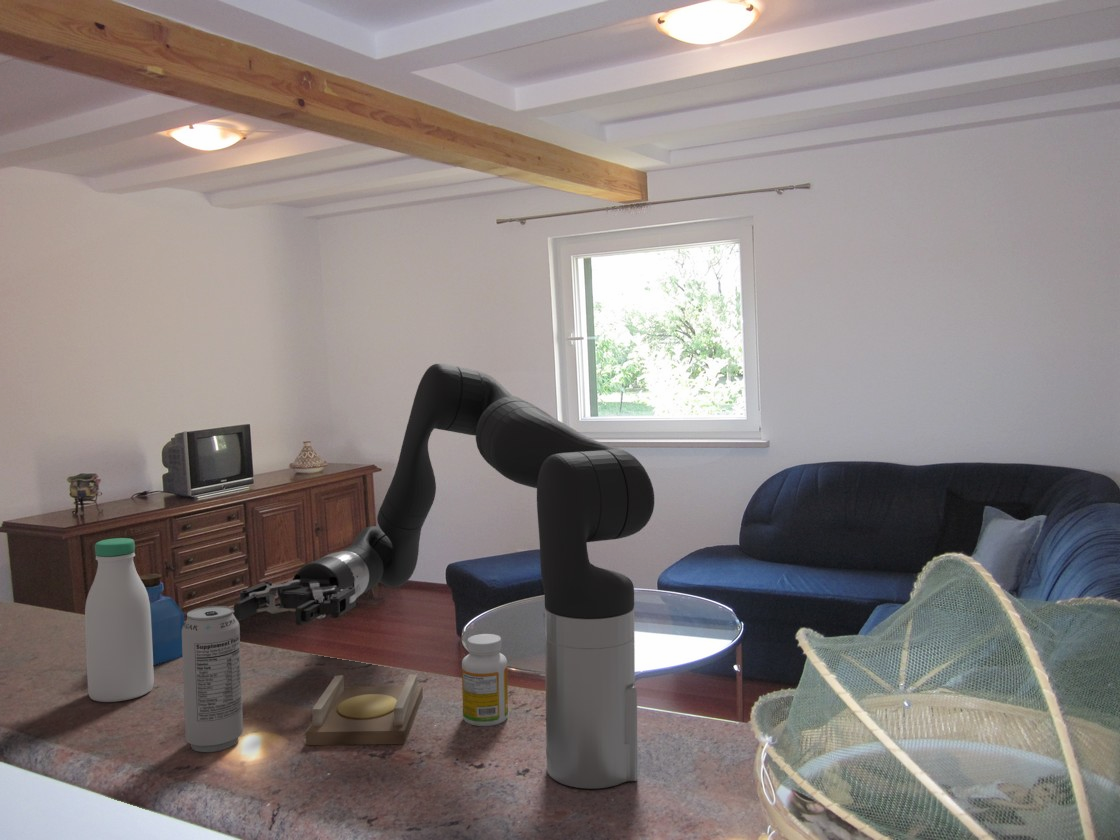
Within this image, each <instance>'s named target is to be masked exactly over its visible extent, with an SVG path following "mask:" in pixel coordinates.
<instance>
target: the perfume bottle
mask: <svg viewBox="0 0 1120 840" xmlns="http://www.w3.org/2000/svg"><path fill="white" fill-rule="evenodd" d="M162 576H163V575H162V573H161V574H160V573H149V574H148V573H147V574H143V575H139V577H140V579H141V581H142V583H143V584H144V586H145V588H146V591H147V593H148V597H149V602H150V612H151V628H152V648H153V665H154V666H157V665H159V663H160V664H162V662H163V663H166V662H169V661H172V660H176V659H178V658H181V657H182V658H183V653H182V628H183V626H184V624H185V613H184V612H183V611H182V609H181V608H180V606H179V605H178V604H177V602H176V601H175V600H174V598H173V597H170V596H165V595H162V592H163V591H164V583H163V582H162ZM156 664H157V665H156Z"/></svg>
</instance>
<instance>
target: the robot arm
mask: <svg viewBox="0 0 1120 840" xmlns="http://www.w3.org/2000/svg"><path fill="white" fill-rule="evenodd" d="M434 430H441V431H447V432H452V433H458V434H464V435H468V436H474V437H475V443H476V447H477V450H478V452H479V455H481V457H482V458H483V460H485V462H486V463H487V464H488V465H489V466H490V467H492V468H493V469H495V471H497V472H498V473H499V474H500V475H502V476H503V477H505V478H506V479H508V480H509V481H510V480H511V481H512V482H514V483H516V484H518V485H521V486H526V487H529V488H532V489H533V488H534V489H536V509H537V510H536V511H537V522H538V523H537V524H538V527H537V528H538V536H539V537H538V538H539V539H538V540H539V556H540V557H539V559H540V560H539V561H540V563H539V564H540V576H541V581H542V582H541V583H542V586H543V593H544V631H545V632H544V636H545V637H544V643H545V645H544V647H545V648H544V652H545V653H544V654H545V655H544V656H545V665H544V666H545V667H544V668H545V735H546V737H545V739H546V743H545V745H546V746H545V755H546V772H547V774H548V775H549V776H550V777H551V779H553V780H554V781H556V782H557V783H559V784H562V785H565V786H568V787H571V788H572V787H574V788H576V789H577V788H578V789H590V790H591V789H605V788H610V787H614V786H618V785H620V784H623V783H626V782H637V781H638V777H639V776H638V689H637V684H636V679H635V677H636V676H635V673H636V672H635V669H636V668H635V665H636V664H635V662H636V661H635V659H636V658H635V657H636V656H635V585H634V583H633V581H632V579H630V578H629V577H628V576H626V575H625V574H623V573H620V572H618V571H614V570H610V569H606V568H602V567H599V566H595V565H594V564H592V563H591V562H590V559H589V553H588V545H587V544H588V543H593V542H602V541H610V540H618V539H623V538H626V537H630V536H632V535H635V534H637V533H639V532H640V531H641V530H643V529H644V528H645V527H646V525H647V524H648V523H649V522H650V520H651V518H652V515H653V512H654V509H655V492H654V487H653V483H652V480H651V478H650V476H649V474H648V472H647V470H646V469H645V467H644V466H643V464H642V463H641V462H640V461H639V459H637V458H636V457H635V456H634V455H633V454H631V453H629V451H626V450H624V449H621V448H618V447H615V446H612V445H609V444H606V443H603V442H601V441H598V440H595V439H592V438H590V437H588V436H586V435H584V434H582V433H581V432H579V431H577V430H575V429H574V428H572V427H570V426H569V425H567V424H565V423H563V422H561V421H560V420H558V419H557V418H554V417H553V416H551V415H550V414H549V413H547V412H546V411H544V410H543V409H541V408H540V407H538V406H536V405H534V404H532V403H531V402H528V401H527V400H524V399H522V398H520V397H518V396H515V395H512V394H511V393H510V392H509V391H508V390H507V389H505V387H504V386H503V385H502V384H501V383H500V382H498V381H497V379H495V378H494V377H493V376H492V375H489V374H488V373H486V372H485V373H484V372H483V371H478V370H475V369H469V368H467V367H466V368H465V367H460V366H456V365H451V364H445V363H434V364H431V365H430V366H429V367H428V368H427V369H426V371H425V372H424V373H423V375H422V377H421V379H420V382H419V384H418V387H417V388H416V393H415V394H414V399H413V403H412V407H411V410H410V415H409V418H408V421H407V424H406V429H405V432H404V437H403V440H402V445H401V449H400V453H399V456H398V461H397V465H396V467H395V471H394V475H393V477H392V480H391V483H390V485H389V486H388V490H387V492H386V494H385V497H384V498H383V500H382V503H381V505H380V508H379V510H378V512H377V516H376V521H377V524H378V526H377V525H376V526H375V525H371V526H367V527H365V528H363V529H362V530H361V531H360V532H359V533H358V534H357V536H356V537H355V539H354V540H353V542H352V544H351V545H349V546H348V547H347V548H345V549H343V550H341V551H338V552H337V551H336V552H332V553H329V554H327V555H325V556H323V557H320V558H318V559H316V560H314V561H311V562H310V563H309V562H308V563H306V564H305V565H303V566H301V567H300V568H299V569H298V570H297V572H296V573H295V575H294V577H293V579H291V580H287V582H285V583H279V584H275V585H273V583H272V581H270V580H267V581H266V580H265V581H263V582H260V583H258V584H255V585H253V586H249V587H248V588H245V589H243V590H240V591H239V601H237V602H235V604H233V615H234V616H235V618H236V619H237V621H243V620H245V619H248V618H250V617H251V616H254V615H256V614H257V613H262V612H268V613H270V614H278V613H282V612H288V611H290V612H295V613H294V614H295V624H296V626H304V625H306V624H308V623H309V622H311V621H313V620H315V619H323V618H326V617H327V616H329V615H330V618H333V619H338V618H340V617H342V616H343V615H344V614H346V613H348V612H349V611H350V610H352V609H353V608H355V607H356V604H357V603H356V600H357V598H359V597H360V596H361V595H363V594H365V593H367V592H368V591H369V590H372V589H373V588H375V587H376V586H377V585H378V584H379V583H381V584H382V585H384V586H385V587H387V588H391V589H392V588H393V589H394V588H398V587H400V586H401V587H402V586H403V585H405V584H406V583H407V582H408V581H409V580H410V579H411V577H412V576H413V574H414V572H415V570H416V566H417V562H418V558H419V552H420V551H419V550H420V539H421V533H422V527H423V526H424V523H425V522H426V520H427V517H428V515H429V513H430V510H431V509H432V506H433V504H434V502H435V497H436V493H437V485H436V484H437V482H436V476H435V472H434V468H433V465H432V463H431V462H432V461H431V458H430V453H429V452H430V451H429V440H430V437H431V435H432V432H433V431H434ZM277 597H278V602H279V604H280V605H277V606H276V598H277Z"/></svg>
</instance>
